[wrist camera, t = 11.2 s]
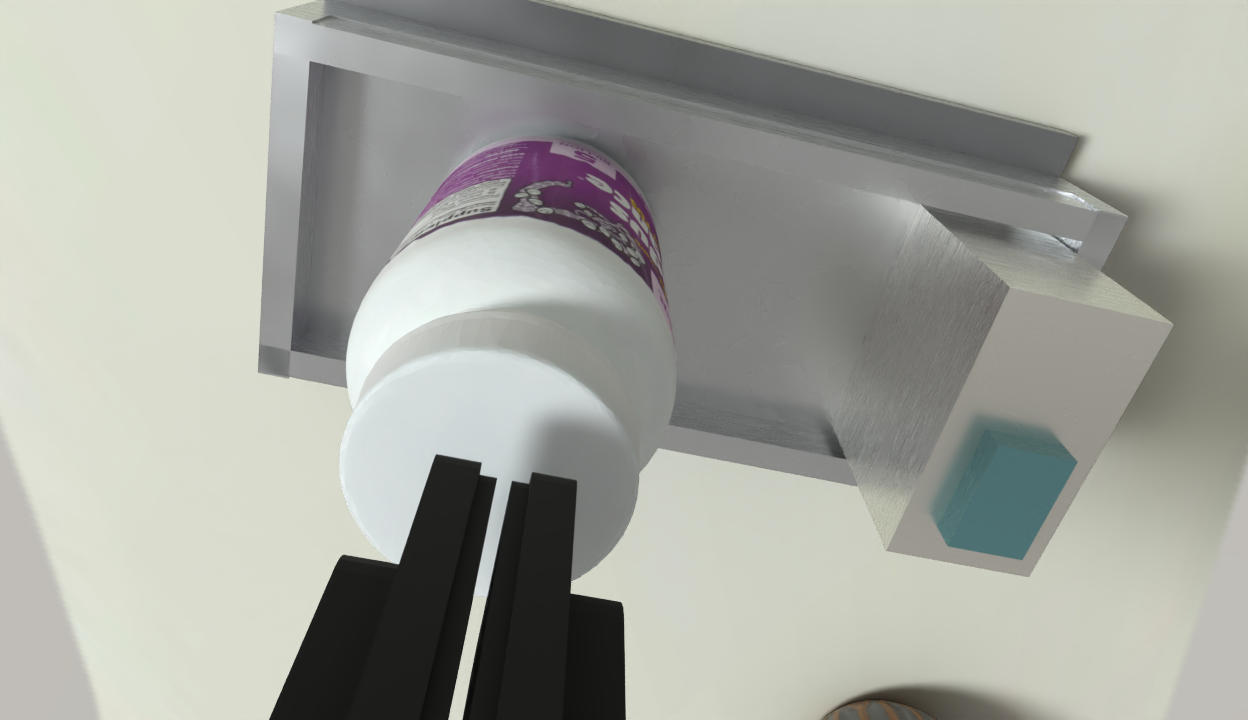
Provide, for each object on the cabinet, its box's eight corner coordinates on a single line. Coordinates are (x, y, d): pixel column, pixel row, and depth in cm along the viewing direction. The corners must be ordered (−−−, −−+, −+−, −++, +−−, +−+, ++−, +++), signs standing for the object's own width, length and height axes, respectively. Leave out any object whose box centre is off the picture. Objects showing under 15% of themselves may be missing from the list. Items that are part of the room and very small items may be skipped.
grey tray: (339, -51, 20) (169, -33, 12) (1063, 130, 22) (1301, 241, 14) (309, 336, 24) (171, 524, 16) (913, 456, 26) (1034, 672, 19)
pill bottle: (706, 261, 20) (775, 516, 12) (534, 386, 22) (482, 694, 13) (556, 73, 18) (505, 211, 10) (378, 224, 20) (195, 461, 11)
